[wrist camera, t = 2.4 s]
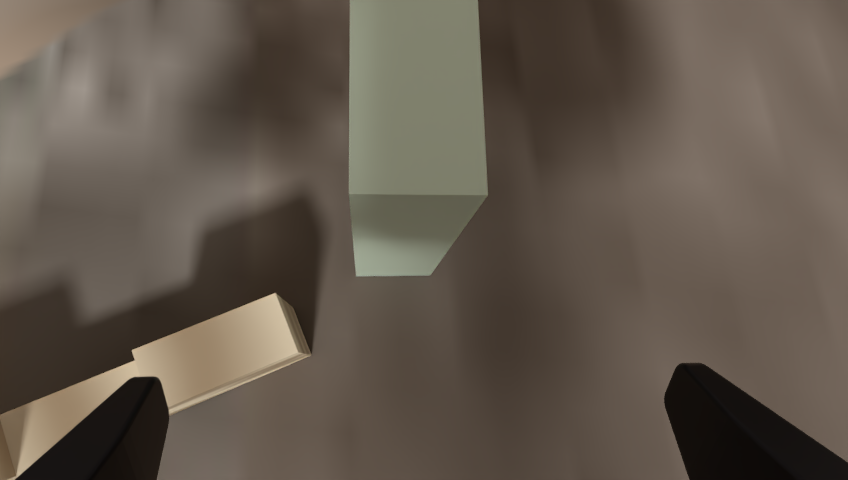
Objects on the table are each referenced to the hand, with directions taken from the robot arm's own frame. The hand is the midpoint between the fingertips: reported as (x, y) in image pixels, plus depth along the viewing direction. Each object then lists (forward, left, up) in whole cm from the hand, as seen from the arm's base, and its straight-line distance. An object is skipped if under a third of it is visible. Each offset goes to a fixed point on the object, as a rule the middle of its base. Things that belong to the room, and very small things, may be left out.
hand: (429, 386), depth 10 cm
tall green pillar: (+6, -4, -12) cm, 14 cm away
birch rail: (+5, +9, -12) cm, 16 cm away
